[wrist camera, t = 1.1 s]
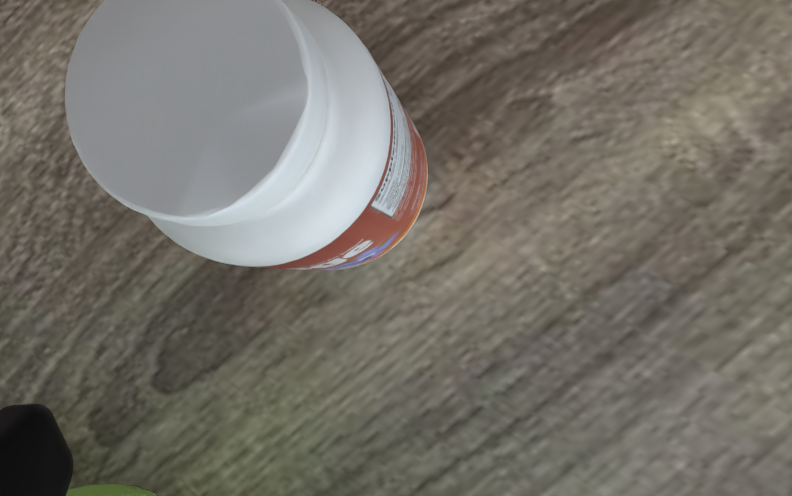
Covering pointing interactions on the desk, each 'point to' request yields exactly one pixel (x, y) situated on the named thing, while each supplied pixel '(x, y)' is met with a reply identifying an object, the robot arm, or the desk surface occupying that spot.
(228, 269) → the desk surface
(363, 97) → the pill bottle
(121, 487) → the teapot
